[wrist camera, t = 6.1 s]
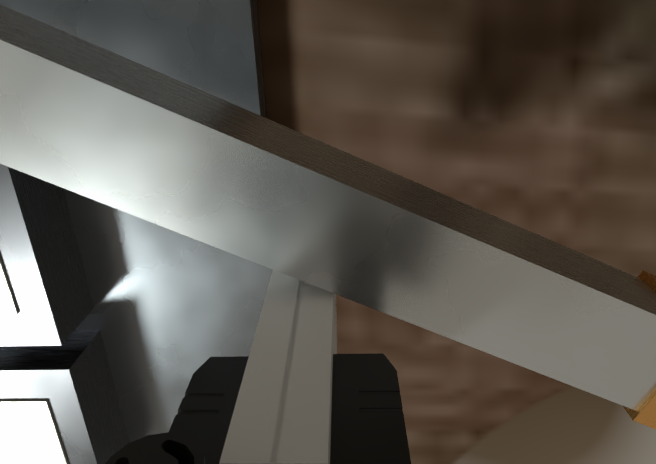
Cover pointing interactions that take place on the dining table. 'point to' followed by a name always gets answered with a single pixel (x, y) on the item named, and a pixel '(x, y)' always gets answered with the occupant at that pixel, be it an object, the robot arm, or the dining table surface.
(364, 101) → the dining table surface
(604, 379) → the cable arm
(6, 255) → the power supply
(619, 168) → the dining table surface
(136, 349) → the chassis
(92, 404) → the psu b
